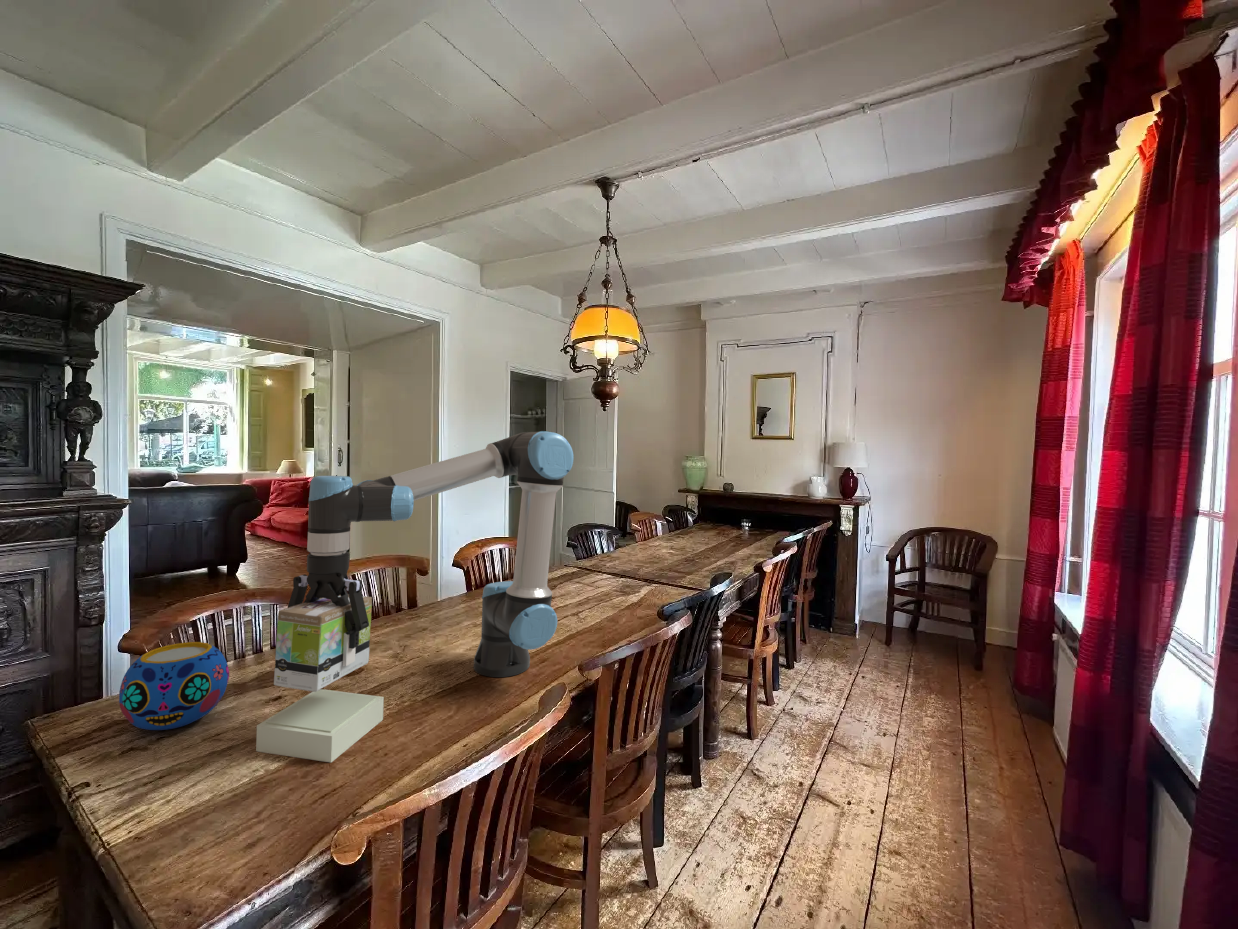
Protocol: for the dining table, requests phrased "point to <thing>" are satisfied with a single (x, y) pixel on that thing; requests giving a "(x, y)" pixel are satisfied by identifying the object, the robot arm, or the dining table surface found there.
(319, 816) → the dining table surface
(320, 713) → the block
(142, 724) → the ceramic pot
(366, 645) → the tea box
